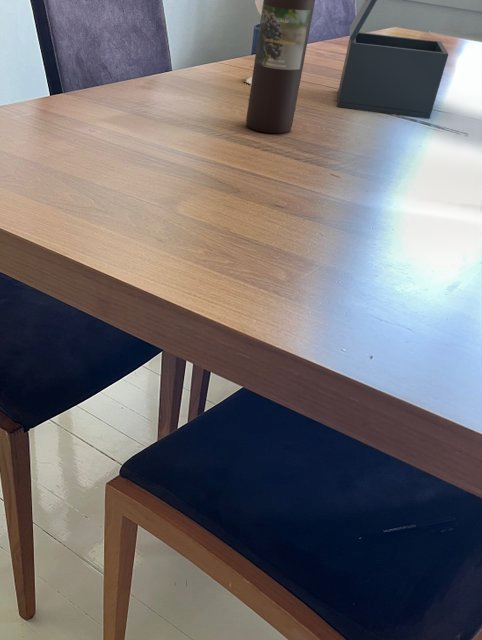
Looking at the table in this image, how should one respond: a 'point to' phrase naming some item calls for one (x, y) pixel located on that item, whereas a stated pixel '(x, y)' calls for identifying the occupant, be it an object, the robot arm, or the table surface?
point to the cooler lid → (361, 18)
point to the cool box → (392, 74)
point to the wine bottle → (278, 64)
